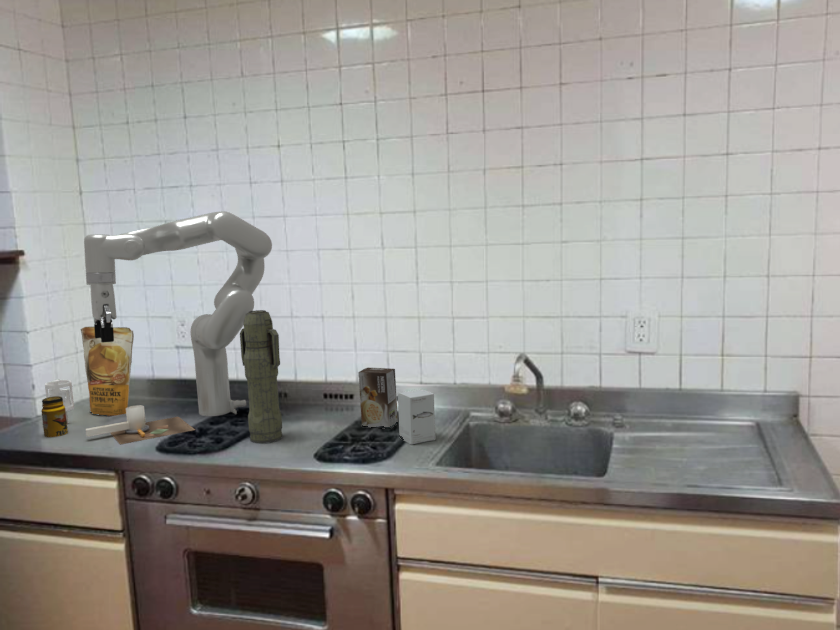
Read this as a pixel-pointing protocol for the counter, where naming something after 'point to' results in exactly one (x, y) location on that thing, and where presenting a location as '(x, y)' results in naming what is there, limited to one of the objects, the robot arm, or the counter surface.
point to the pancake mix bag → (108, 370)
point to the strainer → (61, 393)
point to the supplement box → (416, 416)
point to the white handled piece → (124, 423)
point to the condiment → (54, 417)
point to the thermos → (261, 376)
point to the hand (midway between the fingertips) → (104, 339)
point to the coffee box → (378, 397)
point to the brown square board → (154, 430)
